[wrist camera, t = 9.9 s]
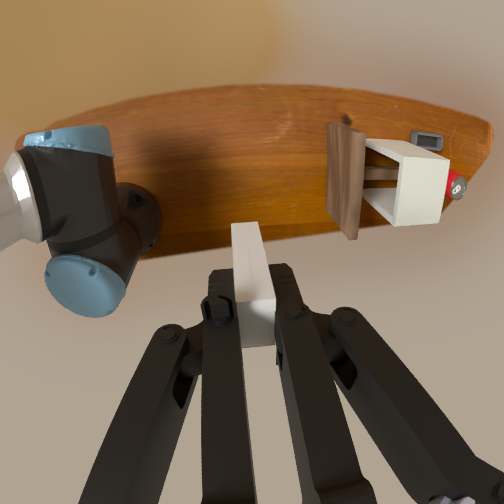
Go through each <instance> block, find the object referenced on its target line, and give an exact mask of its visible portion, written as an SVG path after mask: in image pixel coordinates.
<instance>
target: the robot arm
mask: <svg viewBox="0 0 504 504" xmlns="http://www.w3.org/2000/svg"><path fill="white" fill-rule="evenodd" d="M23 144H24V147H25V148H23V149H21V150H18V151H16V152H13V153H12V155H11V156H10V158H9V160H8V162H7V164H6V166H5V168H4V169H3V170H2V171H0V251H2V250H4V249H5V248H7V247H9V246H10V245H12V244H14V243H15V242H17V241H19V240H21V239H27V240H29V241H32V242H34V243H37V244H38V243H40V242H42V241H44V240H47V243H48V247H49V250H50V253H51V256H52V258H51V259H50V260H49V262H48V263H47V266H46V271H45V283H46V286H47V288H48V290H49V291H50V293H51V295H52V296H53V297H54V298H55V299H56V300H57V301H58V302H59V303H60V304H61V305H62V306H64V307H65V308H67V309H69V310H70V311H72V312H74V313H76V314H79V315H82V316H85V317H92V318H98V317H104V316H107V315H109V314H111V313H112V312H113V311H115V310H116V308H117V307H118V305H119V304H120V302H121V300H122V298H123V297H124V296H125V293H126V288H127V286H128V283H129V281H130V278H131V275H132V273H133V271H134V269H135V266H136V264H137V261H138V259H139V258H140V257H141V256H143V255H144V254H145V253H147V252H148V251H149V250H150V249H151V248H152V247H153V246H154V244H155V243H156V241H157V239H158V237H159V234H160V231H161V227H162V217H161V212H160V209H159V207H158V205H157V203H156V201H155V200H154V198H153V197H152V196H151V195H150V194H149V193H148V192H147V191H146V190H144V189H143V188H141V187H139V186H137V185H134V184H131V183H116V178H115V170H114V162H113V158H114V154H113V153H112V147H111V140H110V134H109V131H108V130H107V128H105V127H104V126H102V125H85V126H75V127H68V128H61V129H55V130H49V131H44V132H37V133H33V134H29V135H27V136H26V137H25V141H24V143H23ZM231 234H232V253H233V268H232V269H220V270H213V271H212V273H211V274H210V276H209V285H208V296H207V297H205V298H204V299H203V300H202V303H201V310H202V314H203V319H204V320H203V321H202V322H201V323H199V324H198V325H196V326H193V327H190V328H187V329H183V327H181V326H180V325H177V324H168V325H164V326H162V327H160V328H159V329H157V331H156V332H155V333H154V335H153V337H152V339H151V341H150V343H149V345H148V347H147V349H146V351H145V353H144V355H143V357H142V359H141V361H140V363H139V365H138V367H137V369H136V371H135V373H134V375H133V377H132V379H131V381H130V383H129V386H128V387H127V390H126V392H125V394H124V396H123V398H122V400H121V403H120V405H119V407H118V409H117V411H116V413H115V416H114V418H113V420H112V422H111V424H110V427H109V429H108V431H107V434H106V436H105V438H104V441H103V443H102V445H101V447H100V450H99V452H98V455H97V457H96V460H95V462H94V464H93V467H92V469H91V472H90V474H89V477H88V479H87V482H86V484H85V487H84V489H83V492H82V495H81V497H80V500H79V503H78V504H158V502H159V499H160V495H161V492H162V489H163V486H164V482H165V479H166V476H167V473H168V470H169V466H170V463H171V460H172V457H173V454H174V451H175V447H176V444H177V441H178V438H179V435H180V432H181V429H182V425H183V423H184V419H185V416H186V413H187V410H188V407H189V404H190V401H191V398H192V395H193V391H194V389H195V385H196V383H197V380H198V375H201V374H202V396H201V397H202V399H201V405H202V406H201V448H202V449H201V450H202V451H201V452H202V491H203V497H202V502H201V504H258V503H257V495H256V487H255V478H254V469H253V460H252V451H251V441H250V432H249V422H248V412H247V402H246V392H245V380H244V370H243V358H242V349H241V348H249V347H260V346H270V345H275V341H276V347H277V352H276V353H277V354H276V365H278V366H279V372H280V377H281V382H282V388H283V393H284V398H285V404H286V410H287V415H288V421H289V426H290V432H291V437H292V443H293V448H294V454H295V459H296V465H297V470H298V476H299V482H300V487H301V493H302V504H377V501H376V497H375V494H374V491H373V488H372V485H371V484H370V482H369V481H368V480H367V479H365V478H364V477H363V475H362V473H361V470H360V466H359V463H358V459H357V455H356V452H355V448H354V445H353V441H352V438H351V434H350V431H349V428H348V424H347V421H346V418H345V414H344V411H343V408H342V405H341V401H340V398H339V395H338V392H337V388H336V385H335V382H336V384H337V385H338V387H339V388H340V390H341V391H342V393H343V394H344V396H345V397H346V399H347V401H348V402H349V404H350V405H351V407H352V408H353V410H354V411H355V413H356V414H357V416H358V418H359V419H360V421H361V422H362V424H363V425H364V427H365V428H366V430H367V431H368V433H369V435H370V436H371V438H372V439H373V441H374V442H375V444H376V445H377V447H378V448H379V450H380V451H381V453H382V455H383V456H384V458H385V459H386V461H387V462H388V464H389V465H390V467H391V468H392V470H393V471H394V473H395V475H396V476H397V477H398V479H399V481H400V482H401V484H402V485H403V487H404V488H405V490H406V491H407V493H408V494H409V495H410V496H411V498H412V499H414V501H415V502H416V503H417V504H504V473H503V472H502V471H500V470H498V469H496V468H495V467H493V466H491V465H489V464H488V463H486V462H484V461H483V460H481V459H479V458H478V457H476V456H475V454H474V453H473V452H472V450H471V449H470V448H469V446H468V445H467V444H466V442H465V441H464V439H463V438H462V437H461V435H460V434H459V433H458V431H457V430H456V429H455V427H454V426H453V425H452V423H451V422H450V421H449V420H448V418H447V417H446V416H445V414H444V413H443V412H442V411H441V409H440V408H439V407H438V405H437V404H436V403H435V402H434V400H433V399H432V398H431V397H430V395H429V394H428V393H427V392H426V390H425V389H424V388H423V387H422V385H421V384H420V383H419V382H418V380H417V379H416V378H415V377H414V375H413V374H412V373H411V372H410V371H409V369H408V368H407V367H406V366H405V365H404V363H403V362H402V361H401V360H400V359H399V357H398V356H397V355H396V354H395V353H394V351H393V350H392V349H391V348H390V347H389V346H388V344H387V343H386V342H385V341H384V340H383V339H382V337H381V336H380V335H379V334H378V333H377V332H376V330H375V329H374V328H373V327H372V326H371V325H370V323H369V322H368V321H367V320H366V319H365V318H364V317H363V315H362V314H361V313H360V312H358V311H357V310H356V309H353V308H350V307H340V308H337V309H336V310H334V311H333V312H332V314H331V315H326V314H319V313H315V312H312V311H311V310H310V309H309V307H308V306H306V305H305V304H304V303H303V300H302V297H301V294H300V291H299V288H298V285H297V283H296V279H295V277H294V274H293V271H292V269H291V268H290V267H289V266H288V265H287V264H286V263H282V264H271V265H268V263H267V259H266V255H265V251H264V246H263V242H262V238H261V234H260V230H259V226H258V222H246V223H233V224H231ZM334 381H335V382H334Z"/></svg>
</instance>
